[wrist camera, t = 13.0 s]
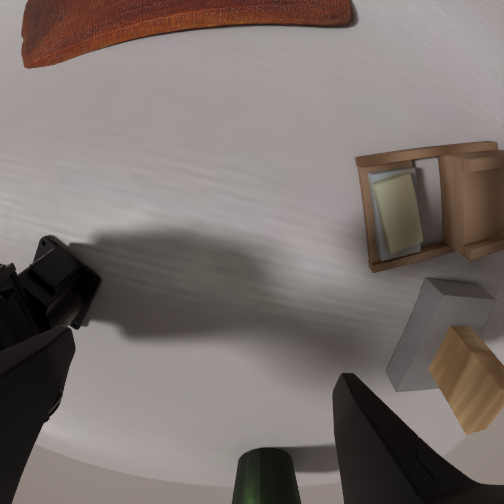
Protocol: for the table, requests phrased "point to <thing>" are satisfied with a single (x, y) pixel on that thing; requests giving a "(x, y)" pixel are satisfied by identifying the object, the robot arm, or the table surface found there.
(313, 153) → the table surface
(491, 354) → the oak block
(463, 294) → the plinth
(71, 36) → the wooden tablet
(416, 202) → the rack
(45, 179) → the table surface
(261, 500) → the potion bottle
